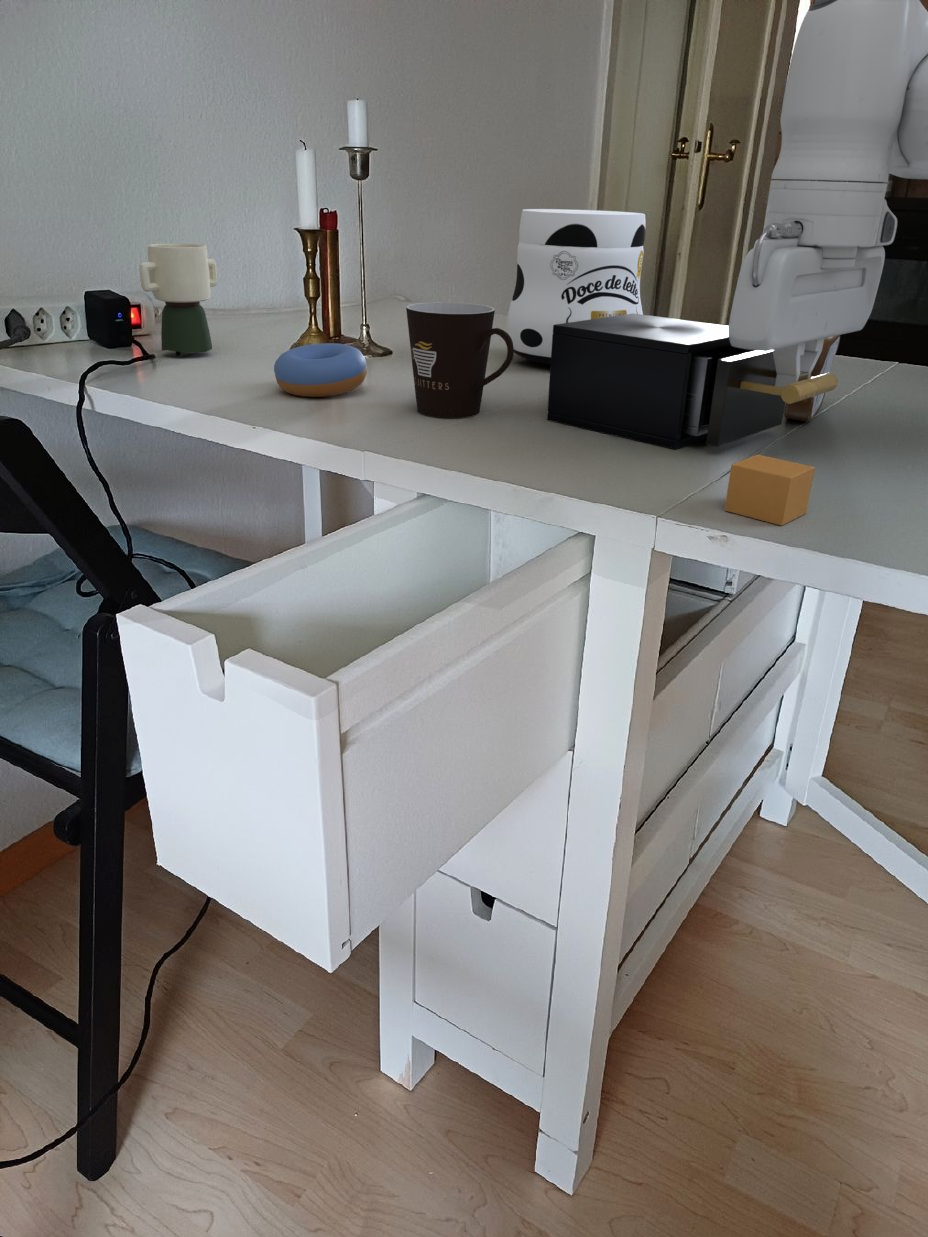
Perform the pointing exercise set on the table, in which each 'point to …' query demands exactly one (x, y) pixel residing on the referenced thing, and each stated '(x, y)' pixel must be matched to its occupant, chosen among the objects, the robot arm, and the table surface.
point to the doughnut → (320, 369)
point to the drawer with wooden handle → (740, 394)
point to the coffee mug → (452, 356)
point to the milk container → (573, 273)
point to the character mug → (181, 293)
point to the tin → (811, 405)
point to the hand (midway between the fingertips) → (790, 393)
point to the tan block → (769, 489)
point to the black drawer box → (627, 375)
